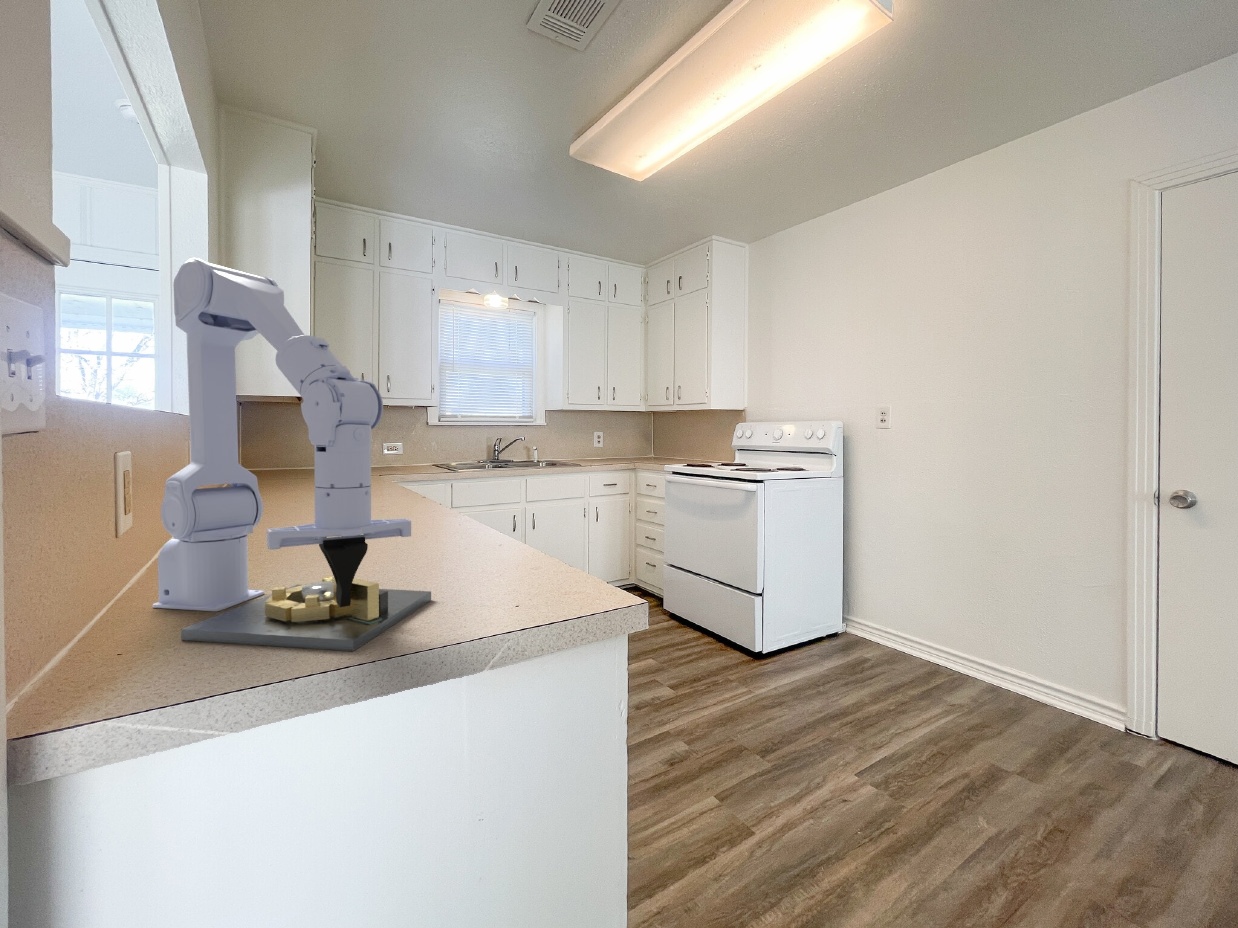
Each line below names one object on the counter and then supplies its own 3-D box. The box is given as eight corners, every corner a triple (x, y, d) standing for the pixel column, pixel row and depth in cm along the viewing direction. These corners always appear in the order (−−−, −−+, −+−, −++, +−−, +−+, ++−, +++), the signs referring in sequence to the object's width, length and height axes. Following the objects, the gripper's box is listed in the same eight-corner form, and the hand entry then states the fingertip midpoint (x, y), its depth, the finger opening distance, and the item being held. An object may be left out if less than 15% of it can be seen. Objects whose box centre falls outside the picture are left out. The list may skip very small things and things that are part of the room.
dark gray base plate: (181, 639, 59) (180, 604, 58) (297, 592, 76) (296, 565, 76) (353, 651, 56) (353, 613, 56) (431, 599, 74) (431, 571, 74)
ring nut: (247, 610, 64) (247, 577, 64) (333, 588, 74) (333, 559, 74) (329, 633, 57) (328, 597, 57) (411, 605, 67) (411, 574, 67)
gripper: (271, 492, 53) (273, 627, 54) (420, 486, 62) (419, 601, 63) (264, 486, 59) (265, 608, 59) (401, 481, 68) (400, 587, 68)
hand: (343, 604), depth 61 cm, fingers closed
